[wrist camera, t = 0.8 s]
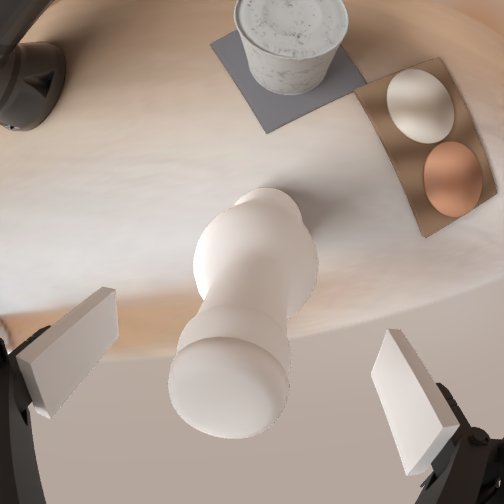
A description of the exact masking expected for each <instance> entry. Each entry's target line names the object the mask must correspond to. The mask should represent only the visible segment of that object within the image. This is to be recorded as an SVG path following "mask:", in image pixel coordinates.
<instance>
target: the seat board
mask: <svg viewBox="0 0 504 504" xmlns="http://www.w3.org/2000/svg"><path fill="white" fill-rule="evenodd" d="M354 93H355V95H356V96H357V98H358V100H359V101H360V103H361V105H362V106H363V108H364V110H365V112H366V114H367V115H368V117H369V119H370V121H371V123H372V124H373V126H374V128H375V130H376V132H377V134H378V136H379V138H380V140H381V142H382V144H383V146H384V148H385V150H386V152H387V154H388V156H389V158H390V160H391V162H392V164H393V166H394V169H395V171H396V173H397V175H398V177H399V180H400V182H401V184H402V186H403V189H404V191H405V193H406V196H407V198H408V201H409V203H410V206H411V208H412V211H413V213H414V216H415V218H416V221H417V224H418V226H419V229H420V232H421V235H422V236H423V237H425V238H427V237H428V236H430V235H432V234H434V233H435V232H437V231H439V230H440V229H442V228H444V227H445V226H447V225H448V224H450V223H452V222H453V221H455V220H457V219H458V218H460V217H461V216H463V215H465V214H467V213H468V212H470V211H471V210H473V209H474V208H476V207H477V206H479V205H480V204H482V203H483V202H485V201H486V200H488V199H490V198H491V197H493V196H494V195H496V194H497V189H496V186H495V183H494V179H493V176H492V173H491V170H490V167H489V164H488V161H487V158H486V155H485V153H484V150H483V147H482V145H481V142H480V139H479V137H478V134H477V132H476V130H475V127H474V125H473V122H472V120H471V118H470V116H469V113H468V111H467V109H466V107H465V105H464V103H463V101H462V99H461V97H460V95H459V93H458V91H457V89H456V87H455V85H454V83H453V81H452V79H451V77H450V75H449V74H448V72H447V70H446V68H445V67H444V65H443V63H442V61H441V60H440V58H439V57H438V58H435V59H432V60H429V61H426V62H423V63H420V64H417V65H415V66H412V67H409V68H406V69H404V70H401V71H399V72H396V73H393V74H391V75H388V76H386V77H383V78H381V79H378V80H376V81H373V82H371V83H369V84H366V85H364V86H362V87H359V88H357V89H355V90H354Z"/></svg>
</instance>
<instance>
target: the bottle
mask: <svg viewBox="0 0 504 504" xmlns="http://www.w3.org/2000/svg"><path fill="white" fill-rule="evenodd" d="M318 264H319V261H318V255H317V249H316V245H315V243H314V241H313V239H312V237H311V235H310V233H309V230H308V229H307V227H306V226H305V225H304V224H303V221H302V216H301V212H300V210H299V208H298V206H297V204H296V203H295V202H294V201H293V199H292V198H291V197H290V196H289V195H287V194H286V193H284V192H282V191H280V190H277V189H274V188H264V187H263V188H258V189H254V190H252V191H250V192H248V193H246V194H244V195H243V196H242V197H241V198H240V199H239V200H238V201H237V202H236V203H235V205H234V206H233V207H231V208H229V209H227V210H226V211H224V212H222V213H220V214H219V215H218V216H217V217H216V218H215V219H214V220H213V221H212V222H211V223H210V224H209V225H207V227H206V229H205V230H204V232H203V234H202V235H201V237H200V239H199V241H198V244H197V248H196V252H195V256H194V276H195V280H196V283H197V286H198V290H199V293H200V295H201V296H202V298H203V300H204V301H203V303H202V305H201V307H200V309H199V311H198V313H197V315H196V316H195V317H193V318H192V319H191V320H190V321H189V322H188V323H187V325H186V326H185V328H184V330H183V331H182V333H181V335H180V338H179V342H178V347H177V355H176V356H175V358H174V359H173V361H172V363H171V368H170V373H169V380H168V387H169V393H170V399H171V402H172V404H173V406H174V408H175V410H176V412H177V413H178V414H179V415H180V416H181V417H182V419H183V420H184V421H186V422H187V423H188V424H190V425H191V426H192V427H194V428H196V429H198V430H200V431H202V432H204V433H206V434H209V435H213V436H216V437H221V438H230V439H235V438H246V437H250V436H254V435H257V434H259V433H261V432H263V431H265V430H267V429H268V428H269V427H270V426H271V425H272V424H274V423H275V421H276V420H277V419H278V418H279V416H280V414H281V413H282V411H283V409H284V407H285V404H286V402H287V399H288V394H289V387H290V385H289V381H288V375H289V373H290V368H291V361H292V352H291V347H290V342H289V340H288V338H287V320H288V319H290V318H291V317H292V316H293V315H295V314H296V313H297V312H299V310H300V309H301V308H302V307H303V306H304V304H305V303H306V302H307V301H308V299H309V298H310V297H311V294H312V292H313V289H314V287H315V284H316V281H317V273H318Z"/></svg>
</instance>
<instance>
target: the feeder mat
mask: <svg viewBox="0 0 504 504" xmlns="http://www.w3.org/2000/svg"><path fill="white" fill-rule="evenodd" d="M210 46H211V47H212V49H213V50H214V52H215V53H216V55H217V56H218V58H219V59H220V61H221V62H222V64H223V65H224V67H225V68H226V70H227V71H228V73H229V74H230V76H231V77H232V79H233V80H234V82H235V84H236V85H237V87H238V88H239V90H240V91H241V93H242V95H243V96H244V98H245V99H246V101H247V103H248V104H249V106H250V108H251V109H252V111H253V112H254V114H255V116H256V117H257V119H258V121H259V122H260V124H261V126H262V127H263V129H264V131H265V132H266V134H267V133H269V132H271V131H273V130H275V129H277V128H279V127H280V126H282V125H284V124H286V123H288V122H290V121H292V120H294V119H296V118H298V117H300V116H302V115H304V114H306V113H308V112H310V111H312V110H314V109H316V108H318V107H320V106H323V105H325V104H327V103H329V102H331V101H333V100H335V99H338V98H340V97H342V96H344V95H346V94H349V93H351V92H353V91H354V90H355V89H357V88H359V87H362V86H364V85H366V82H365V81H364V79H363V77H362V76H361V74H360V73H359V71H358V69H357V68H356V66H355V65H354V63H353V62H352V60H351V59H350V57H349V56H348V54H347V53H346V51H345V50H344V48H343V47H342V46H341V44H340V45H339V47H338V49H337V51H336V53H335V55H334V57H333V59H332V61H331V63H330V65H329V67H328V69H327V73H326V75H325V77H324V79H323V80H322V81H321V83H320V84H319V85H318V86H317V87H315V88H314V89H312V90H311V91H308V92H306V93H303V94H298V95H282V94H278V93H274V92H272V91H270V90H267V89H266V88H264V87H263V86H262V85H260V84H259V83H258V82H257V81H256V80H255V78H254V77H253V75H252V73H251V72H250V68H249V65H248V59H247V56H246V53H245V49H244V46H243V43H242V40H241V36H240V33H239V31H238V30H236V31H234V32H232V33H230V34H228V35H226V36H224V37H222V38H220V39H218V40H216V41H215V42H213V43H211V44H210Z"/></svg>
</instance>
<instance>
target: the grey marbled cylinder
mask: <svg viewBox="0 0 504 504" xmlns="http://www.w3.org/2000/svg"><path fill="white" fill-rule="evenodd" d="M234 20H235V24H236V27H237V30H238V31H239V33H240V36H241V40H242V43H243V46H244V49H245V53H246V56H247V59H248V65H249V68H250V72H251V73H252V75H253V77H254V78H255V80H256V81H257V82H258V83H259V84H260V85H262V86H263V87H264V88H266V89H267V90H270V91H272V92H274V93H278V94H282V95H298V94H303V93H306V92H308V91H311V90H312V89H314V88H315V87H317V86H318V85H319V84H320V83H321V81H322V80H323V79H324V77H325V75H326V73H327V69H328V67H329V65H330V63H331V61H332V59H333V57H334V55H335V53H336V51H337V49H338V47H339V45H340V43H341V42H342V41H343V39H344V37H345V35H346V33H347V31H348V25H349V17H348V12H347V9H346V7H345V4H344V2H343V1H342V0H237V2H236V5H235V8H234Z"/></svg>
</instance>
